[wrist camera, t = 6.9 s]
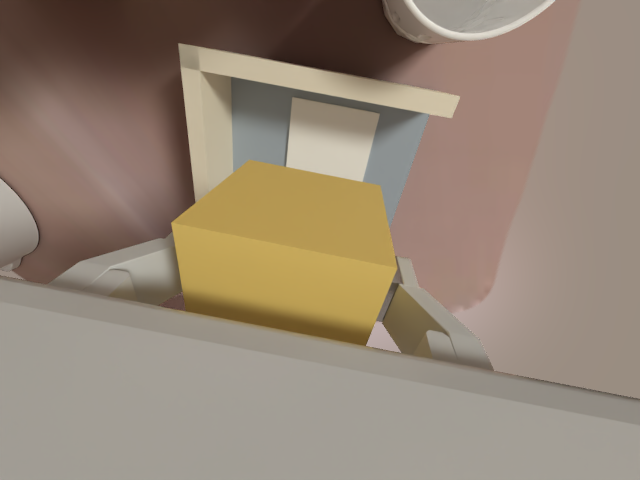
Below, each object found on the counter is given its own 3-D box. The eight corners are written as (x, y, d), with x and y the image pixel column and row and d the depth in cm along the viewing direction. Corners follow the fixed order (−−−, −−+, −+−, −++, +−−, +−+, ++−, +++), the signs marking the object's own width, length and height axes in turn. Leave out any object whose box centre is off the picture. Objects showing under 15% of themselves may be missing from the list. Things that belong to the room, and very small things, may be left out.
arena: (228, 253, 32) (204, 288, 27) (220, 49, 21) (178, 43, 16) (368, 280, 32) (371, 320, 27) (434, 90, 21) (460, 96, 16)
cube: (247, 263, 13) (193, 357, 8) (249, 159, 10) (171, 222, 6) (350, 284, 13) (347, 389, 8) (380, 185, 10) (397, 267, 6)
